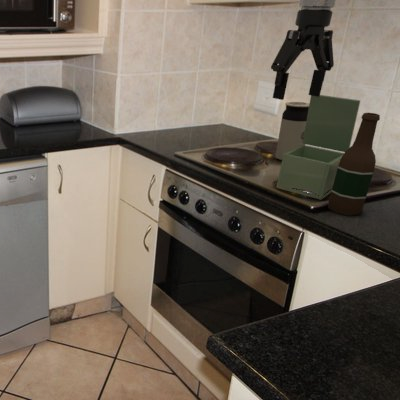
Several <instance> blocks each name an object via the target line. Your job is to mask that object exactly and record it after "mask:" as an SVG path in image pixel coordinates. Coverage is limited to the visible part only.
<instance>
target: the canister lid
mask: <svg viewBox="0 0 400 400" xmlns="http://www.w3.org/2000/svg"><path fill="white" fill-rule="evenodd" d="M309 103H310V104H309V110H308V115H307V121H306V127H305V132H304V138H303V144H305V145H306V146H311V147H316V148H321V149H326V150H331V151H336V152H341V153H345V152H346V150H348V149H349V148H350V147H351V144H352V139H353V135H354V130H355V127H356V122H357V117H358V114H359V109H360V104H361V99H352V98H346V97H339V96H331V95H324V94H320V96H318V97H317V96H312V95H310V98H309Z"/></svg>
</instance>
